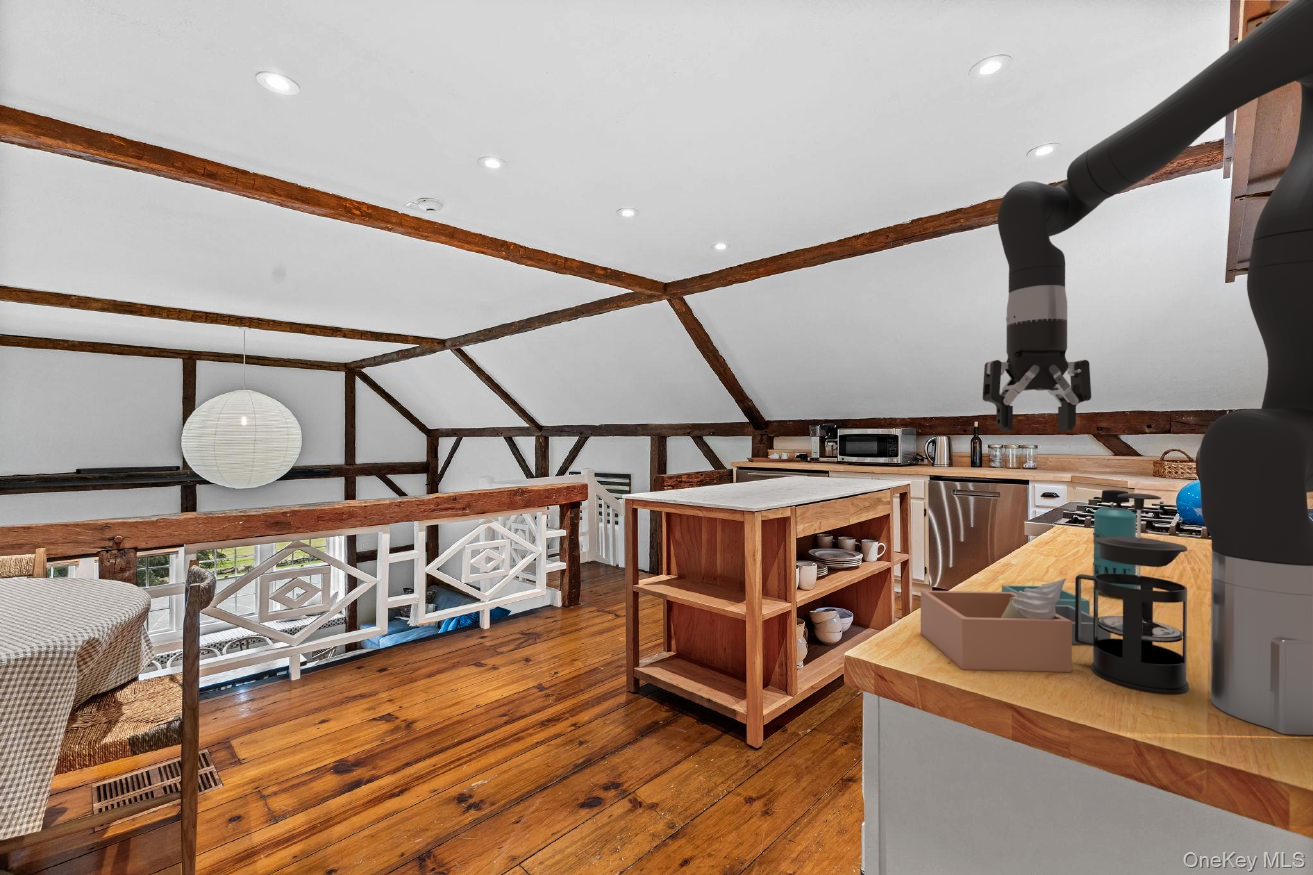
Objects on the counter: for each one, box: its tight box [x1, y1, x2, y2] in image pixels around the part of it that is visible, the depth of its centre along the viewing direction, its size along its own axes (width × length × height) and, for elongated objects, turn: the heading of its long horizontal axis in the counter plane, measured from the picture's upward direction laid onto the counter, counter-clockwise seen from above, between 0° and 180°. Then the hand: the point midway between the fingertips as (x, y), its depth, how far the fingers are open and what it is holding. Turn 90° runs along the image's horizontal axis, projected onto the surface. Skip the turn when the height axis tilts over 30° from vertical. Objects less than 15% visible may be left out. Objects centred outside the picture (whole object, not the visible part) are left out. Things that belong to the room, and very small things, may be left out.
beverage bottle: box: [1092, 489, 1137, 589], centre depth 108 cm, size 6×7×20 cm
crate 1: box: [1001, 584, 1091, 615], centre depth 100 cm, size 9×9×3 cm
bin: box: [920, 590, 1073, 673], centre depth 81 cm, size 14×14×6 cm
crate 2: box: [1055, 605, 1112, 645], centre depth 88 cm, size 9×9×3 cm
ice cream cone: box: [1001, 578, 1067, 619], centre depth 78 cm, size 5×5×15 cm
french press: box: [1074, 492, 1190, 695], centre depth 73 cm, size 12×9×23 cm
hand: (1035, 431), depth 86 cm, fingers open, 8 cm apart
